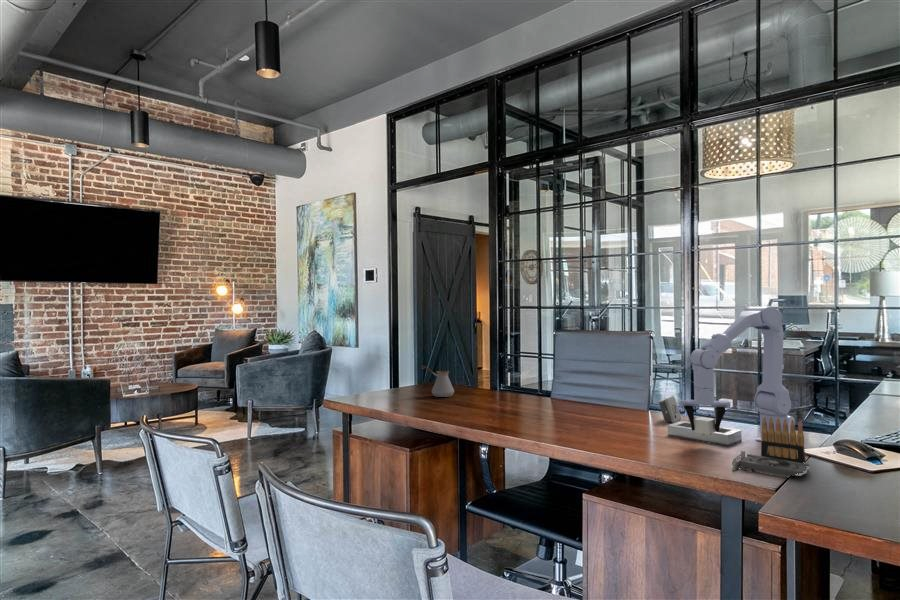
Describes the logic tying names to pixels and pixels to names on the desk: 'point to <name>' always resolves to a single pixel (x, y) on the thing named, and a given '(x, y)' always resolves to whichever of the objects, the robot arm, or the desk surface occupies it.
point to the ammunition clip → (783, 441)
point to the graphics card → (768, 465)
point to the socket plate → (722, 437)
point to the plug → (705, 426)
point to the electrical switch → (670, 410)
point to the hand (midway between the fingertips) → (705, 430)
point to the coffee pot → (441, 384)
